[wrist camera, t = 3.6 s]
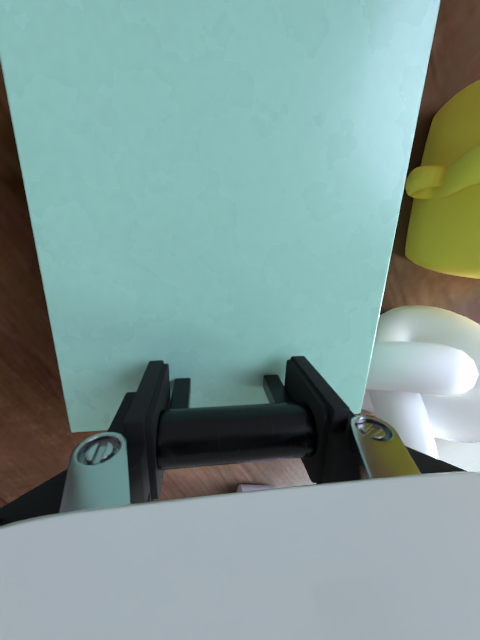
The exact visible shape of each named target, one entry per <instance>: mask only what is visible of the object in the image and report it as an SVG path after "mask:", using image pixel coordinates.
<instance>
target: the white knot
mask: <svg viewBox="0 0 480 640" xmlns="http://www.w3.org/2000/svg"><path fill="white" fill-rule="evenodd" d="M466 391H468V392H467V393H465V392H466ZM463 393H465V394H463ZM462 394H463V395H462ZM457 395H458V396H457ZM361 409H363V410H366V411H368V412H371V413H373V414H375V417H376V418H379V419H381V420H383V421H385V422H387V423H388V424H390V425H391V426H392V427H393V428H394V429H395V430H396V432H397V433H398V435H399V437H400V438H401V440H402V442H403V443H404V445H405V446H407V447H409V448H412V449H414V450H417V451H419V452H421V453H424V454H426V455H429V456H431V457H434V458H436V459H438V453H437V449H436V445H435V441H434V438H433V437H436V438H440V439H444V440H449V441H456V442H466V443H477V442H480V325H479V324H477V323H476V322H474V321H472V320H470V319H468V318H466V317H464V316H461V315H459V314H456V313H454V312H451V311H448V310H444V309H440V308H436V307H431V306H422V305H410V306H402V307H397V308H393V309H391V310H389V311H386V312H385V313H383V314H381V315H380V316H379V320H378V325H377V330H376V335H375V340H374V345H373V351H372V356H371V361H370V366H369V371H368V376H367V381H366V387H365V392H364V397H363V402H362V407H361Z"/></svg>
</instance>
